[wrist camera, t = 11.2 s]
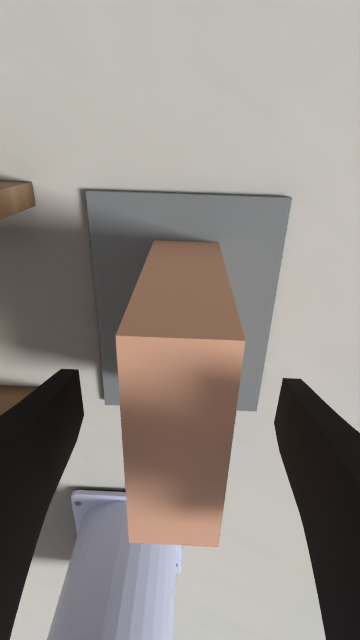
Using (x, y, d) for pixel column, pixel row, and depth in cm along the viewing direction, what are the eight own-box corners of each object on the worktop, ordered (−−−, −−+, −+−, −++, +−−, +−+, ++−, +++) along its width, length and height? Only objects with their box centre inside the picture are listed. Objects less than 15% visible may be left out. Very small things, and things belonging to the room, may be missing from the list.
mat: (255, 406, 21) (256, 411, 20) (106, 400, 21) (104, 404, 21) (289, 196, 15) (291, 198, 15) (88, 189, 15) (85, 191, 15)
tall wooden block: (207, 382, 20) (218, 547, 12) (155, 380, 20) (129, 542, 12) (218, 242, 16) (245, 340, 8) (154, 240, 16) (115, 335, 8)
